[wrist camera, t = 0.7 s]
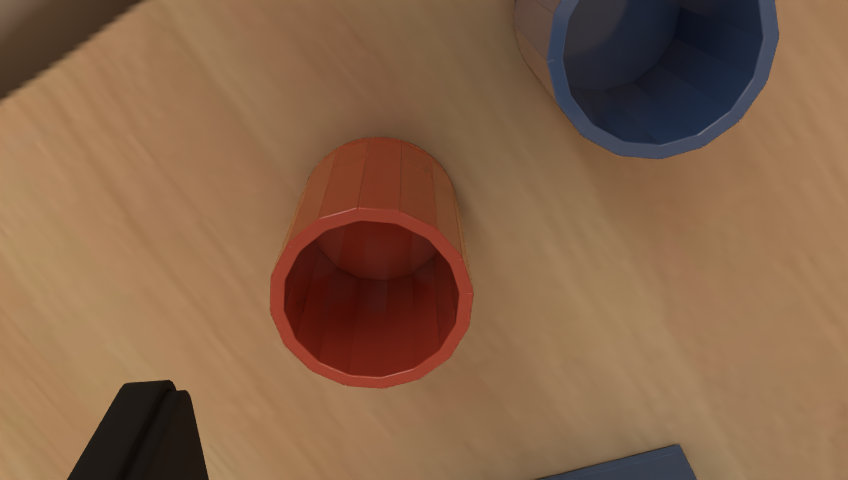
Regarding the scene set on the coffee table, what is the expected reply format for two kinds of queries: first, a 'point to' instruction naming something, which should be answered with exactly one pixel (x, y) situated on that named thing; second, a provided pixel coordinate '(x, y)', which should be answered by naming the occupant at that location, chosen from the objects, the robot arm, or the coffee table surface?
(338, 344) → the red cup
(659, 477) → the blue tray
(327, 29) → the coffee table surface
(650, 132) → the blue cup
